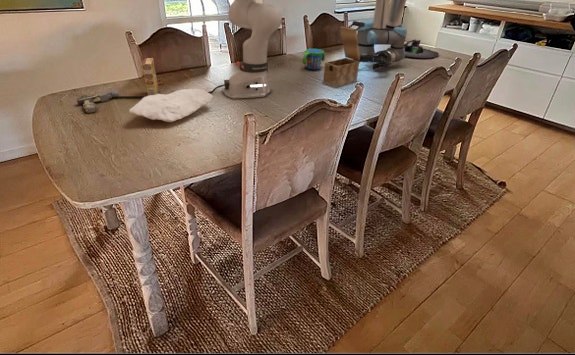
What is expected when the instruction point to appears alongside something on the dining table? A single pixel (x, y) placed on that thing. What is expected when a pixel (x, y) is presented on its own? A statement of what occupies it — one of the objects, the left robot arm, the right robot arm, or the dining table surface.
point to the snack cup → (313, 58)
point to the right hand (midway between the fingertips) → (363, 63)
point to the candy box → (150, 76)
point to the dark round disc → (418, 51)
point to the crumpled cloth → (171, 104)
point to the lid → (351, 40)
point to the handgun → (95, 100)
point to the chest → (340, 72)
